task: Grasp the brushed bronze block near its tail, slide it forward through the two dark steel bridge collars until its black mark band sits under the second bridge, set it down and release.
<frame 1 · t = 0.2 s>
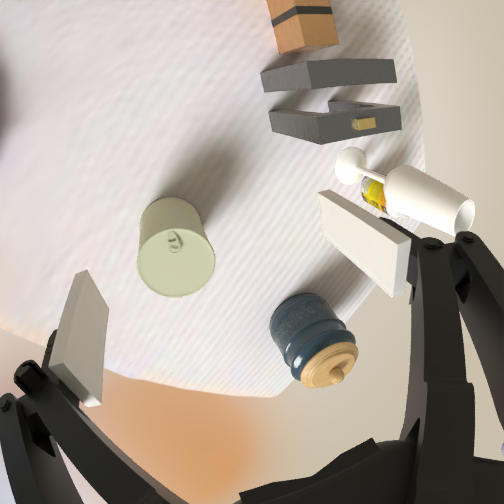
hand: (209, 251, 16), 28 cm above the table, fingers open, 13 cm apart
can: (170, 226, 43), on the table
collar B: (307, 114, 41), on the table
supplement bottle: (370, 187, 51), on the table
collar A: (300, 77, 38), on the table
champagne flute: (350, 165, 48), on the table
canister: (297, 317, 60), on the table
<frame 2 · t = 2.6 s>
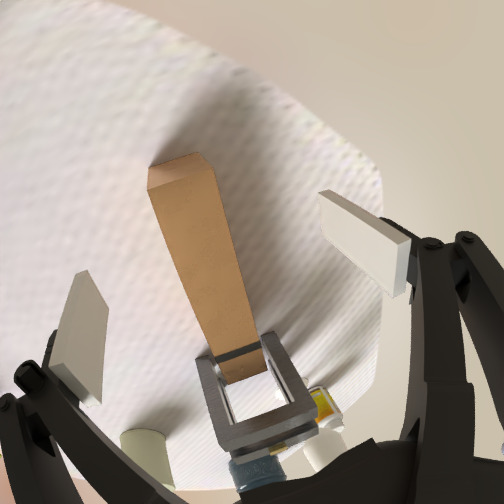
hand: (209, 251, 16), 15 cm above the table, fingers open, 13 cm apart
can: (142, 438, 47), on the table
collar B: (245, 374, 45), on the table
supplement bottle: (312, 392, 55), on the table
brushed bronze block: (204, 262, 34), on the table
collar A: (237, 352, 42), on the table
champagne flute: (291, 388, 52), on the table
canister: (251, 458, 64), on the table
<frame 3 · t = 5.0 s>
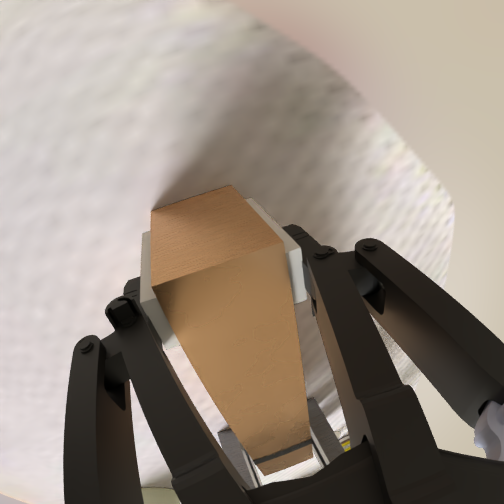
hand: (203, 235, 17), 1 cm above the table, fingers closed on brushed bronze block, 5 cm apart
can: (152, 493, 37), on the table
collar B: (275, 438, 35), on the table
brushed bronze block: (236, 337, 23), on the table, touching gripper
collar A: (268, 421, 32), on the table
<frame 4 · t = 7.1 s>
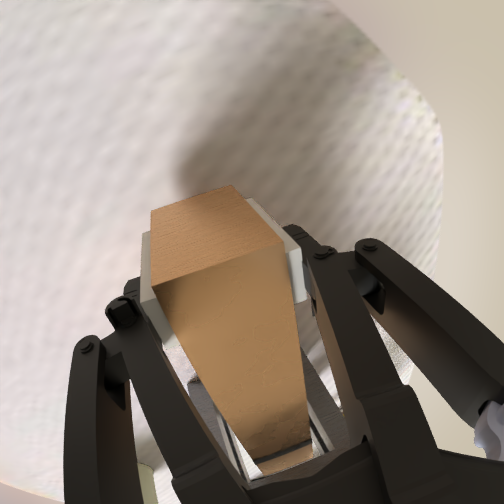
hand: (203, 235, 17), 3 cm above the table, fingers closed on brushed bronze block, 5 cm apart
can: (124, 469, 34), on the table
collar B: (256, 401, 32), on the table
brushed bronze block: (236, 337, 23), point 2 cm above the table, touching gripper
collar A: (246, 373, 29), on the table
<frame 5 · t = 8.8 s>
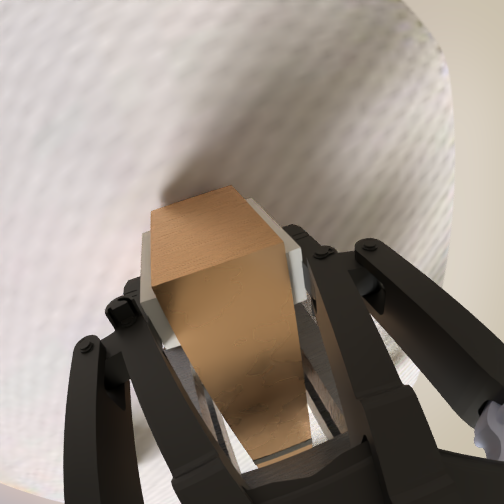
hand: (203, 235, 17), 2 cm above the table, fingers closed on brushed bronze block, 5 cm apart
collar B: (250, 377, 28), on the table
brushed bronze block: (236, 337, 23), point 1 cm above the table, touching gripper
collar A: (235, 338, 25), on the table
when the fingers open (1 cm above the table, at t = 9.5 s): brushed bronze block stays where it is, on the table.
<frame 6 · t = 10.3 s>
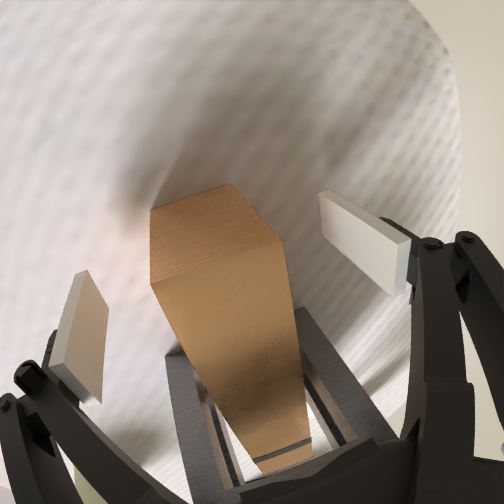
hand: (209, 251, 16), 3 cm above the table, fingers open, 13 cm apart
can: (104, 466, 29), on the table
collar B: (253, 383, 27), on the table
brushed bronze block: (236, 336, 24), on the table
collar A: (239, 345, 24), on the table
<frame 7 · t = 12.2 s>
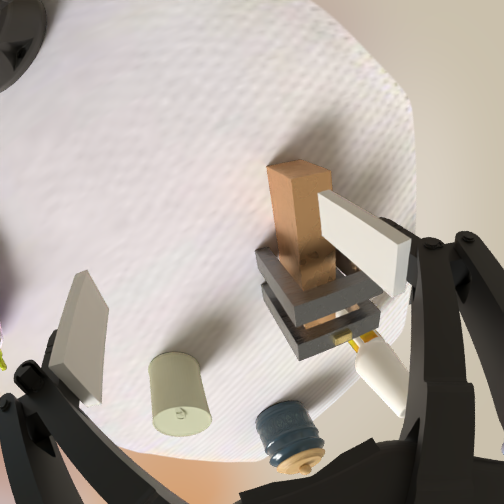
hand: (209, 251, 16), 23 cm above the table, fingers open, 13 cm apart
can: (173, 369, 49), on the table
collar B: (297, 281, 48), on the table
supplement bottle: (351, 324, 57), on the table
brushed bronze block: (293, 242, 44), on the table
collar A: (294, 248, 45), on the table
champagne flute: (335, 312, 54), on the table
canister: (279, 414, 65), on the table
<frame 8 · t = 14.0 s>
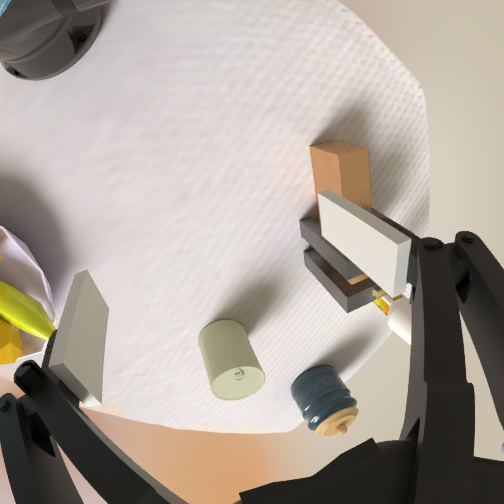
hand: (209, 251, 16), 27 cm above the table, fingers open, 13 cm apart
can: (221, 337, 55), on the table
collar B: (333, 247, 53), on the table
supplement bottle: (377, 288, 63), on the table
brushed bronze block: (331, 212, 49), on the table
collar A: (331, 218, 50), on the table
fruit bowl: (1, 281, 36), on the table
champagne flute: (363, 277, 59), on the table
canister: (312, 380, 72), on the table
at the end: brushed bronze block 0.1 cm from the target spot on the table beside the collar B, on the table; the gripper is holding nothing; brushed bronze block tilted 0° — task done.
